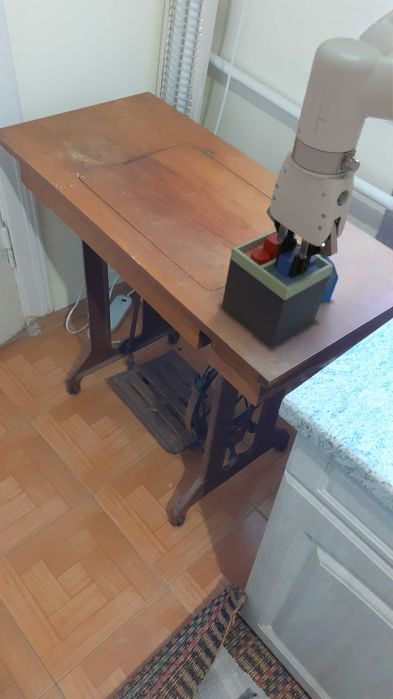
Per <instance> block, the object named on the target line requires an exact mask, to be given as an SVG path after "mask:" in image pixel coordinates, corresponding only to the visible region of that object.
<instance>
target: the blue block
mask: <svg viewBox="0 0 393 699" xmlns="http://www.w3.org/2000/svg"><path fill="white" fill-rule="evenodd" d="M299 249H300V247H298V246H297V247H295V248H293V249H291V250H289V251H287V252H285V253H283V254H281V255H279V259H278V263H277V267H276V271H277V272H279V273H280V274H281V275H283V276H284V277H285V278H287V277H289V274H290V270H291V267H292V263H293V258H294V256H295V255H296V254H298V253H299ZM316 260H317V257H316V255H313V256H312V257H311V260H310V263H309V267H313V266H314V265H315V263H316ZM309 267H308V268H309Z"/></svg>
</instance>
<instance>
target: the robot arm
mask: <svg viewBox="0 0 393 699" xmlns="http://www.w3.org/2000/svg"><path fill="white" fill-rule="evenodd" d="M308 76H309V77H308V81H307V85H306V90H305V94H304V98H303V102H302V106H301V110H300V114H299V120H298V123H297V128H296V132H295V136H294V139H293V144H292V149H291V150H289V151H288V153H287V155H286V157H285V158H284V161H283V163H282V165H281V167H280V169H279V172H278V175H277V178H276V181H275V184H274V188H273V190H272V195H271V198H270V199H271V200H270V205H269V206H268V208H267V209H266V215H267V216H268V217H269V219H270V220H271V222H272V223H273V225H274V229H276V231H277V234H278V235H277V241H278V243H279V247H278V251H277V255H276V257H277V258H276V262H275V267H277V263H278V259H279V255H281V254H283V253H285V252H287V251H289V250H291V249H293V248H295V247H296V245H297V240H298V239H297V238H296V236H298V237H300V238H301V242H300V243H301V245H300V249H299V253H298V254H296V255H295V256H294V258H293V263H292V267H291V270H290V274H289V277H290V278H292V279H293V278H295V277H297V276H299V275H302V274H304V273H305V272H306V271H307V270H308V267H309V263H310V260H311V257H312V256H313V255H317V254H321V255H324V256H329V257H332V256H334V255H336V254H338V239H339V238H340V237H341V236H342V234H343V231H344V229H345V225H346V221H347V218H348V214H349V211H350V207H351V203H352V202H351V201H352V197H353V190H354V184H355V173H356V172H357V171H358V170H359V168H360V167H361V166H360V165H361V162H360V161H359V160H357V159H356V153H357V147H358V144H359V140H360V137H361V135H362V132H363V128H364V126H365V123H366V119H369V118H370V119H375V120H381V121H386V122H392V123H393V9H392V10H390V11H389V12H387V13H385V14H384V15H383V16H382V17H379V19H377V20H376V21H374V23H372V24H371V25H370V26H369V27H368V28H367V29H366V30H364V31H363V32H362V33H361V34H360V36H359V37H358V38H352V37H344V36H343V37H342V36H341V37H340V36H339V37H338V36H337V37H331V38H328V39H325V40H324V41H322V42H321V43H320V44H319V45H318V47H317V48H316V51H315V52H314V56H313V59H312V64H311V68H310V71H309V75H308Z"/></svg>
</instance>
